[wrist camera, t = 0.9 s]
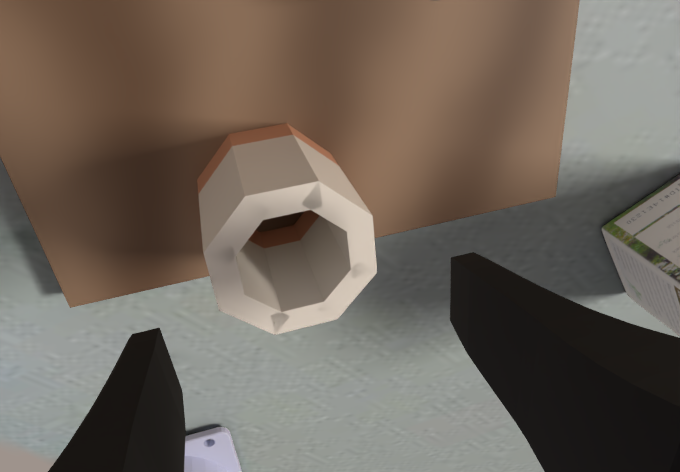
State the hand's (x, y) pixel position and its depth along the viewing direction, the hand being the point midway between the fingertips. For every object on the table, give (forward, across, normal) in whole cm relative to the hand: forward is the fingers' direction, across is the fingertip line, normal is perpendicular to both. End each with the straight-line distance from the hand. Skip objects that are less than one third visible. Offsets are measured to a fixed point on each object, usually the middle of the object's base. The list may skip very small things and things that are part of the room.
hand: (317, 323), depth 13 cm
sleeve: (+8, 0, 0) cm, 8 cm away
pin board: (+9, -2, -4) cm, 10 cm away
